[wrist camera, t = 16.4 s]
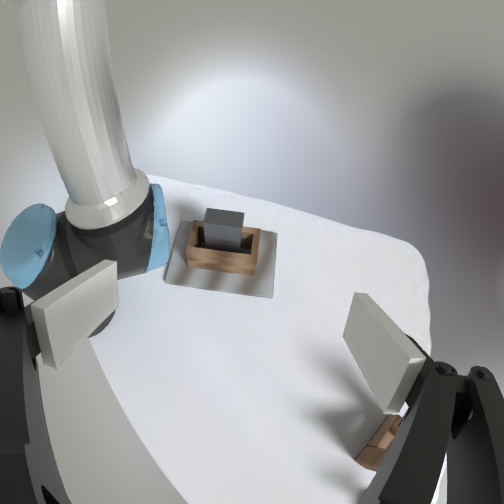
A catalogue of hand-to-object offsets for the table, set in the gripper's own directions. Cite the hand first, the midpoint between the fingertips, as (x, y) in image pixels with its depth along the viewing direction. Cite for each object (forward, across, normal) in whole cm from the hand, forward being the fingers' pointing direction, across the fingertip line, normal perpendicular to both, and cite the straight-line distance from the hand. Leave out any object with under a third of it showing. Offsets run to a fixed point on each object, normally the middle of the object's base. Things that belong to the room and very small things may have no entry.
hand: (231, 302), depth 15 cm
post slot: (+40, -4, -9) cm, 41 cm away
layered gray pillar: (+39, -4, -8) cm, 40 cm away
